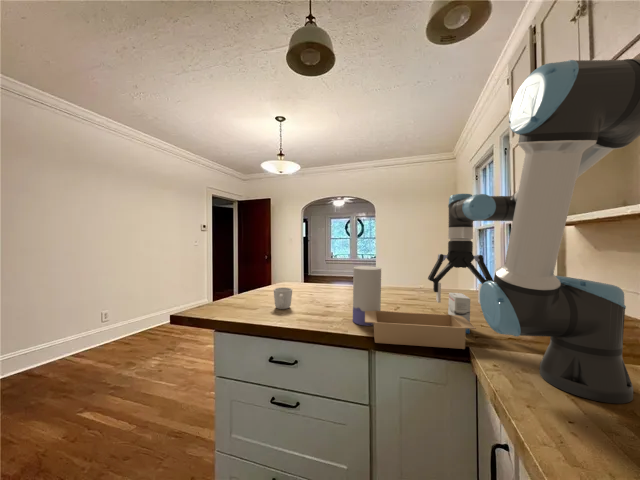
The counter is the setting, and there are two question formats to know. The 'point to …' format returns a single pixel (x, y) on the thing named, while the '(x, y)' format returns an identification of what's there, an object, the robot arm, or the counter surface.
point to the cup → (282, 297)
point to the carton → (419, 328)
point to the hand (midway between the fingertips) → (459, 302)
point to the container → (366, 292)
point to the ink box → (459, 306)
